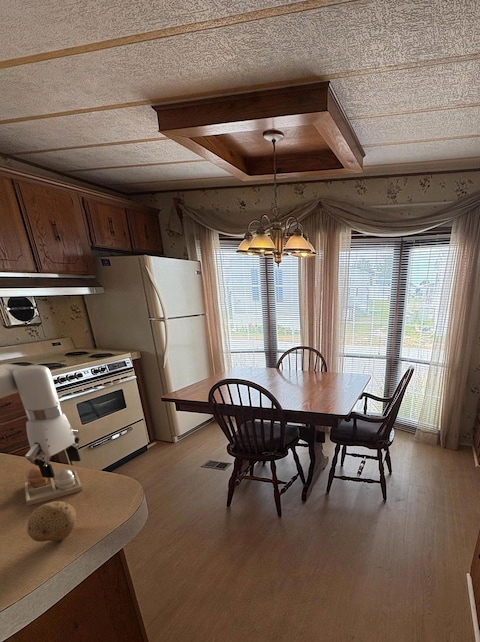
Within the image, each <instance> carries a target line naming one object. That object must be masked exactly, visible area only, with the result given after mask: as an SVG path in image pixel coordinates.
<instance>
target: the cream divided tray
mask: <svg viewBox="0 0 480 642" xmlns="http://www.w3.org/2000/svg"><path fill="white" fill-rule="evenodd" d="M70 471H71V472H72V473H73V476H74V479H75V484H74V486H73V488H70V489H67V490H63V491H62V490H61V489H59V488H58V487H57V485H56V482H55V478H54V477H53V478H48V482H47V484H46V486H43V487H39V488H35V489H34V488H33V487H31V486H30V485H29V483H28V481H25V482H23V484H24V492H25V502H26V505H27V506H31V505H35V504H39V503H42V502H46V501H49V500H53V499H57V498H60V497H63V496H67V495H71V494H74V493H77V492H82V491H83V486H82V483H81V481H80V479H79V475H78V473H77V470H76V469H74V470H70Z"/></svg>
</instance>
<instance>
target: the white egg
mask: <svg viewBox="0 0 480 642" xmlns="http://www.w3.org/2000/svg"><path fill="white" fill-rule="evenodd" d="M71 471H72V470H70V469H67V468H62V469H59V470H57V471H56V472H55V473H54V475H55V477H54V478H55V482H56V485H57V487H58V488H59V489H61V490H62V491H63V490H67V489H70V488H73V486H74V484H75V479H74V476H73V473H72V472H71Z"/></svg>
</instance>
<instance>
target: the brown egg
mask: <svg viewBox="0 0 480 642" xmlns="http://www.w3.org/2000/svg"><path fill="white" fill-rule="evenodd" d="M25 477H26V480H27V482H28V483H29V485H30V486H31V487H33V488H34V489H35V488H39V487H43V486H46V484H47V482H48V478H44V477H42V474H41V472H40V469H39V466H35V467H31V468H29V469H28V470H27V472H26V474H25Z"/></svg>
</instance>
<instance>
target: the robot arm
mask: <svg viewBox="0 0 480 642" xmlns="http://www.w3.org/2000/svg"><path fill="white" fill-rule="evenodd" d="M18 393H19V397H20V400H21V403H22V406H23V409H24V412H25V414H26V418H27V420H28V421H26V422H25V428H26V435H27V440H28V444H29V448H30V449H29V451H28V452H27V453H26V454H25V456H24V457H25V459H27V461H28V462H30V464H32V465H35V467H39V469H40V472H41V474H42V477H44V478H53V477H55V472H54V469H53V466H52V464H51V463H50V461H51V457H52V456H54V455H57V454H58V453H60V452H63V451H64V450H65V452H66V454H67V458H68V461H70V462H81V460H82V458H81V456H80V455H81V454H80V452H79V447H80V445H79V444H80V430H75V429H73V428H72V426H71V424H70V422H69V419H68V418H67V416H66V414H65V413H64V412H63V409H62V407H63V404H62V403H61V402H60V399H59V396H58V391H57V389H56V385H55V382H54V378H53V375H52V372H51V370H50V369H49V367H47V366H45V365H39V364H37V365H36V364H33V365H20V364H19V365H18V364H13V363H2V364H0V399H3V398H5V397H8V396H11V395H14V394H18Z"/></svg>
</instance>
